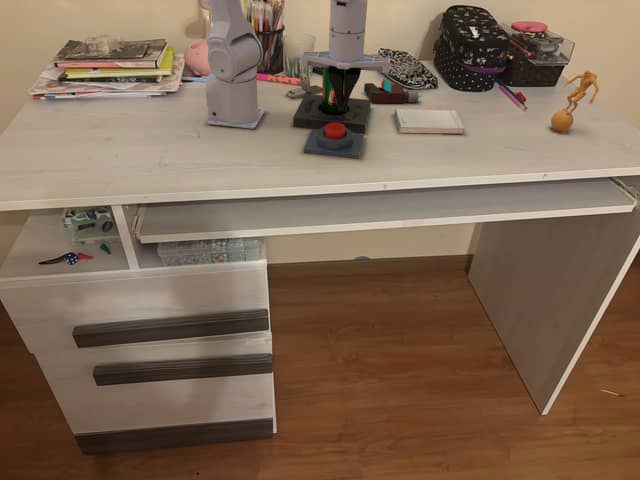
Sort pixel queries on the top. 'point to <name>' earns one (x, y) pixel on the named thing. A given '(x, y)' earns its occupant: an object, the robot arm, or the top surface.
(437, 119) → the hard drive
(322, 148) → the button box
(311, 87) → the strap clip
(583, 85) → the figurine
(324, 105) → the soda can
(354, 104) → the dock
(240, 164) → the top surface
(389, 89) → the toy gun
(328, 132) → the power button
